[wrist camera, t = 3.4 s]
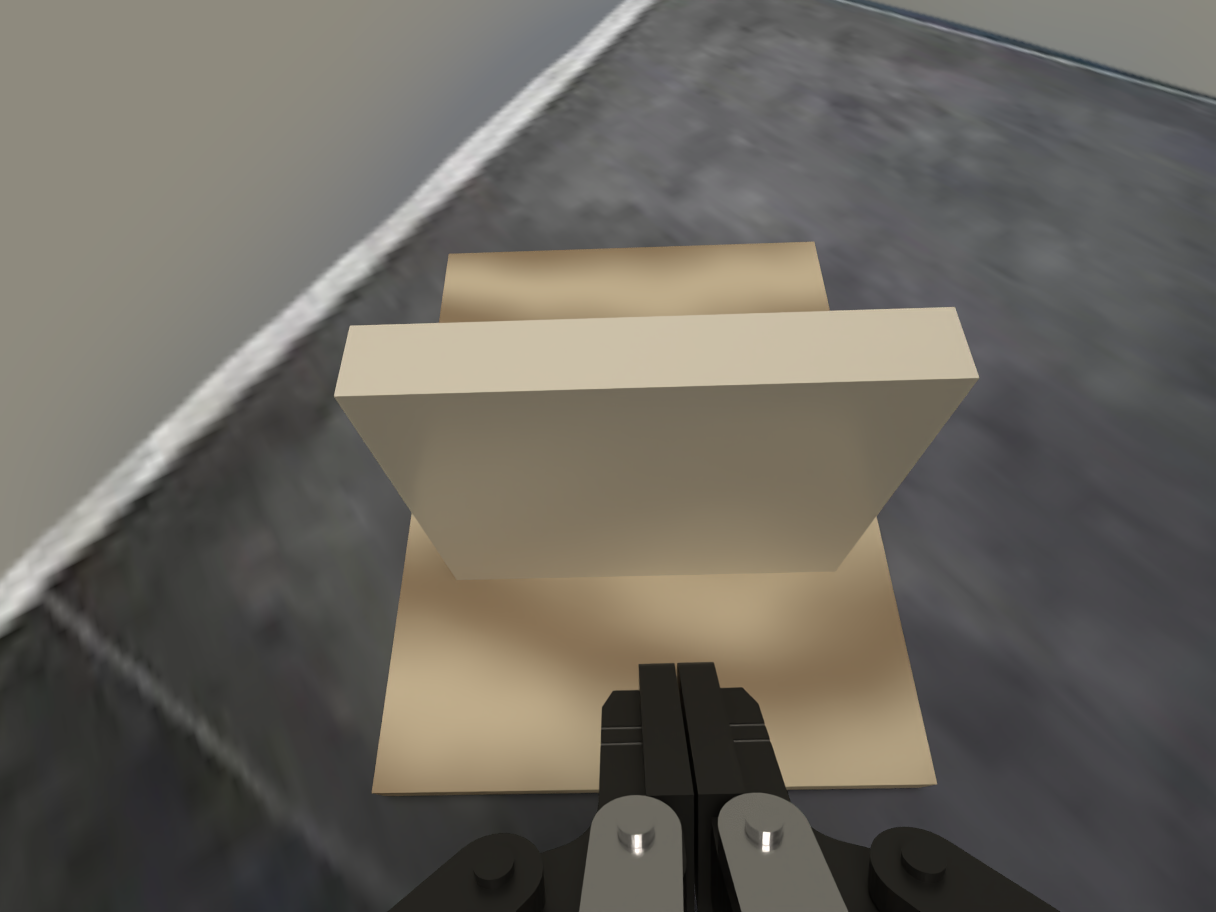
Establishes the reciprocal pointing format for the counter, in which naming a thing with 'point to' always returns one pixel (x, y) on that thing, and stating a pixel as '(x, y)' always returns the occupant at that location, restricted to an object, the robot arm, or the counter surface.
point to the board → (641, 590)
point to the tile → (653, 435)
